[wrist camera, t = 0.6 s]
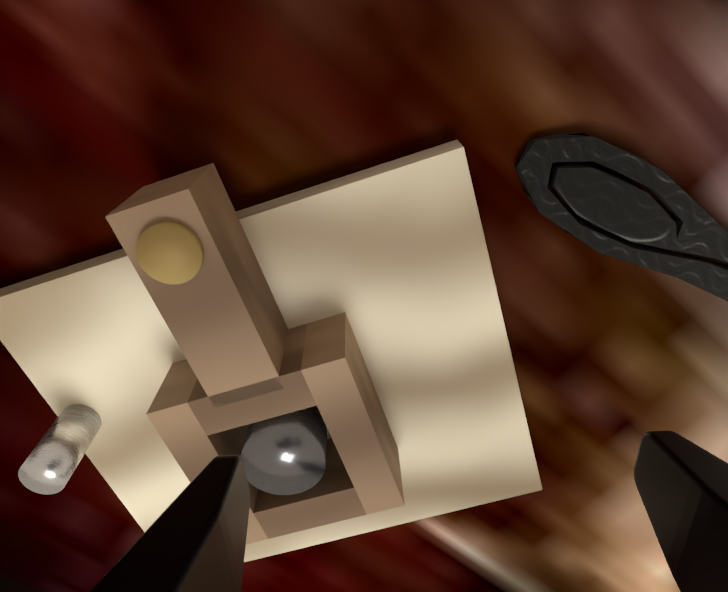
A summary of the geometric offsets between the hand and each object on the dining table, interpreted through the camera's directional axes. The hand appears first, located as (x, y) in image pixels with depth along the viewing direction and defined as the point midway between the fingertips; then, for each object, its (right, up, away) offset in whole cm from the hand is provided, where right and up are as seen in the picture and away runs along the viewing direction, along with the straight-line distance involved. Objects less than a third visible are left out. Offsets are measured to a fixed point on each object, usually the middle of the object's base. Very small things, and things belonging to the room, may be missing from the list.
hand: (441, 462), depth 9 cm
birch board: (-4, -1, +14) cm, 15 cm away
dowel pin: (-13, -2, +13) cm, 18 cm away
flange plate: (-5, +1, +12) cm, 13 cm away
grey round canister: (-4, -1, +14) cm, 15 cm away
